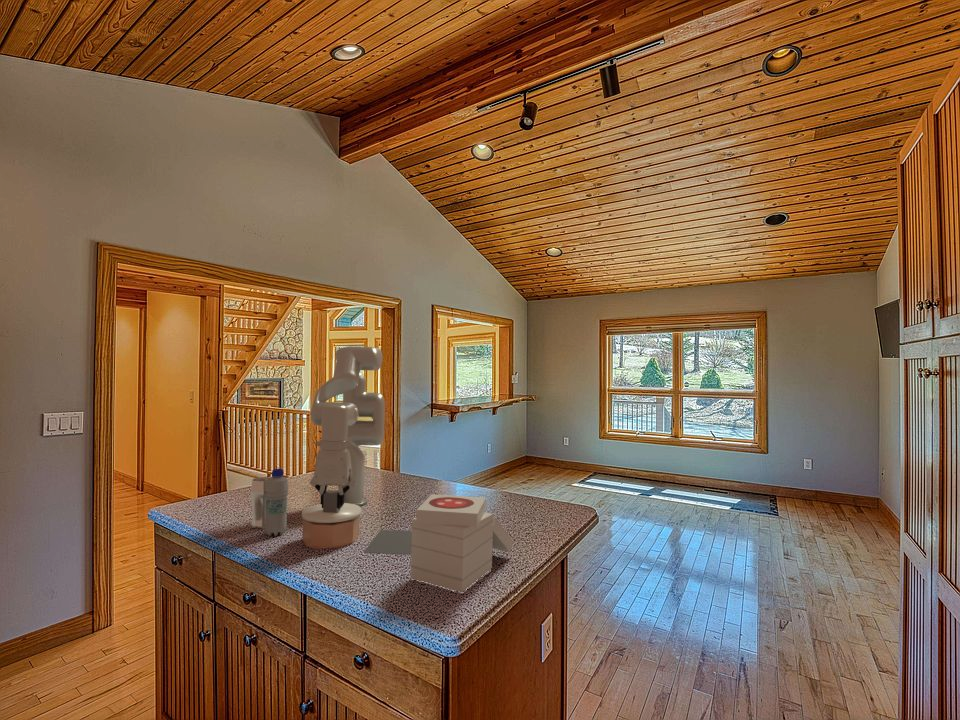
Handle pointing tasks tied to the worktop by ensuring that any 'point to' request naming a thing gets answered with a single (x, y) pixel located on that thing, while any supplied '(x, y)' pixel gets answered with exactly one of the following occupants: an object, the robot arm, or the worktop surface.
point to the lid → (331, 510)
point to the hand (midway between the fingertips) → (332, 506)
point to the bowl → (330, 533)
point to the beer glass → (258, 501)
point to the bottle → (276, 503)
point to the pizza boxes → (454, 541)
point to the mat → (391, 542)
